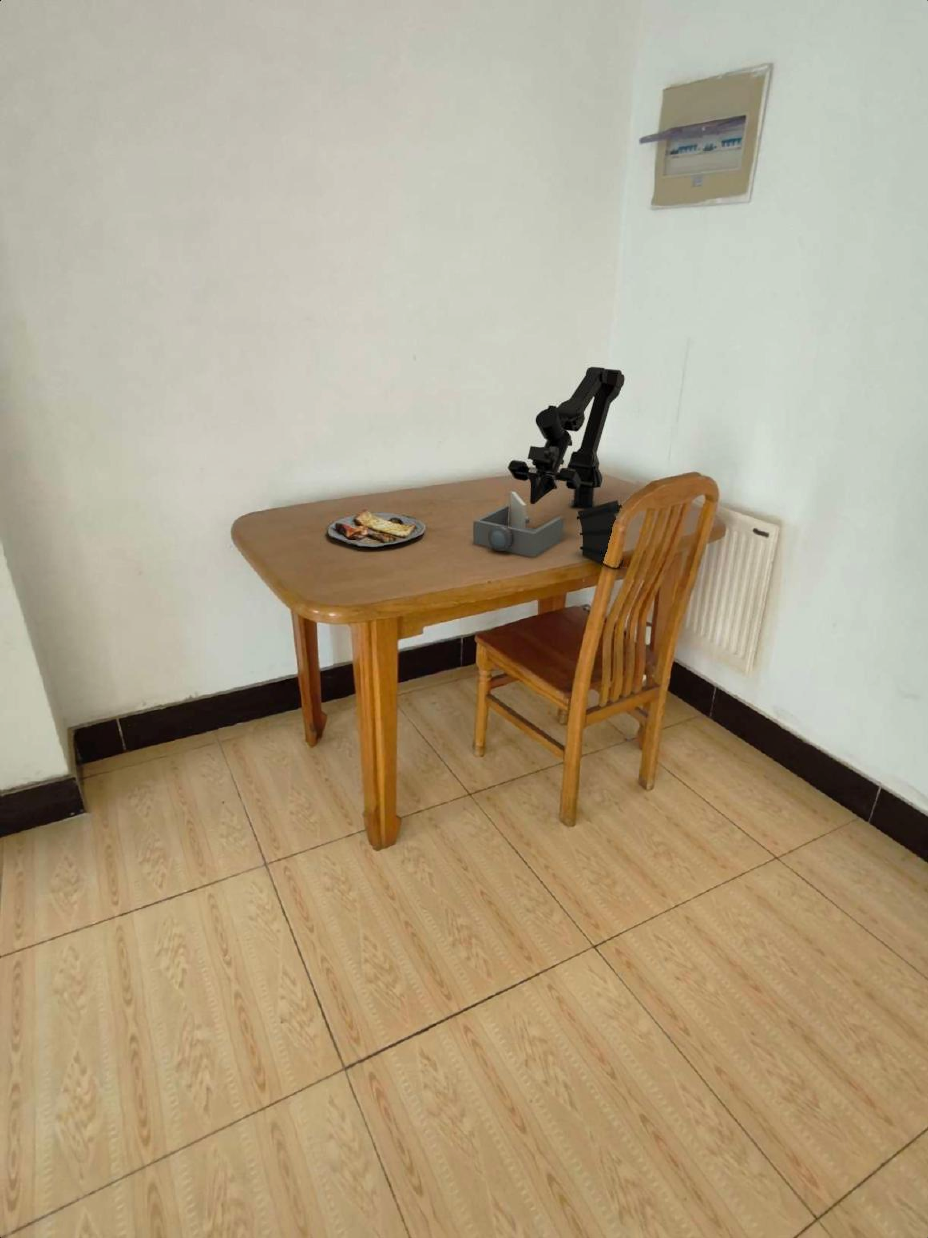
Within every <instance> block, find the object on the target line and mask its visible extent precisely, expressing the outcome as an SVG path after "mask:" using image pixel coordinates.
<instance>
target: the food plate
mask: <svg viewBox="0 0 928 1238" xmlns="http://www.w3.org/2000/svg"><path fill="white" fill-rule="evenodd" d="M425 530H426V526H425V524H424V523H423V522H421V521H420V520H419V519H417V518H415V517H412V516H409V515H405V514H398V513H392V512H370V511H369V510H368V509H363V510H362V511H361V512H360V513H359V514H357V513H356V514H351V515H348V516H345V517H340V518H338V519H335V520H333V521H331V523H329V525H328V526H326V530H325V531H326V533H328V536H329V537H331V538H335V539H337V540H339V541H342V542H344V543H346V545H354V546H355V545H356V546H358V547H371V548H377V547H383V546H387V545H393V544H394V545H395V544H398V543H402V542H407V541H408V540H412V539H415V538H416V537H418V536H421V535H423V533H424V532H425ZM398 538H399V540H397V539H398ZM349 540H357V541H360V540H361V541H360V542H361V543H360V542H352V541H349ZM364 540H366V541H367V540H378V541H380V542H379V543H377V542H378V541H377V542H376V541H375V542H373V541H372V542H371V543H369V542H370V541H367V542H366V543H363V542H364Z"/></svg>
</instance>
